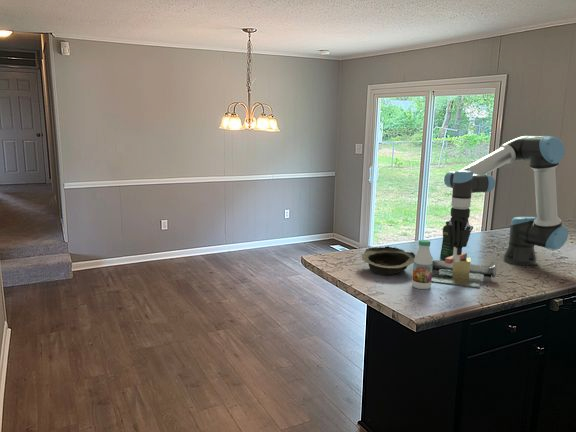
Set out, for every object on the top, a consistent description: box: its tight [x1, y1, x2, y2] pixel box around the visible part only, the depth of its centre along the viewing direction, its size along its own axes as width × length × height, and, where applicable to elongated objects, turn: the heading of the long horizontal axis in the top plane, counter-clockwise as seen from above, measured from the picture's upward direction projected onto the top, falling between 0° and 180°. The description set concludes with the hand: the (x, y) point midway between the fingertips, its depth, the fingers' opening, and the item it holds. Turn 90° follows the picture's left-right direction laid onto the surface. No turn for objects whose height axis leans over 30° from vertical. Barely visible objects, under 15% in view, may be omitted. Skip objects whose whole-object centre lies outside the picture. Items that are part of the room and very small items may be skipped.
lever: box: [445, 251, 468, 264], centre depth 205 cm, size 16×4×3 cm, turn 135°
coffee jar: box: [439, 224, 453, 261], centre depth 236 cm, size 10×8×19 cm
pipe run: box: [431, 257, 497, 289], centre depth 209 cm, size 32×22×8 cm
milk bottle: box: [411, 239, 434, 290], centre depth 196 cm, size 8×8×20 cm
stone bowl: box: [361, 245, 416, 276], centre depth 218 cm, size 25×25×9 cm
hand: (456, 261), depth 200 cm, fingers closed
